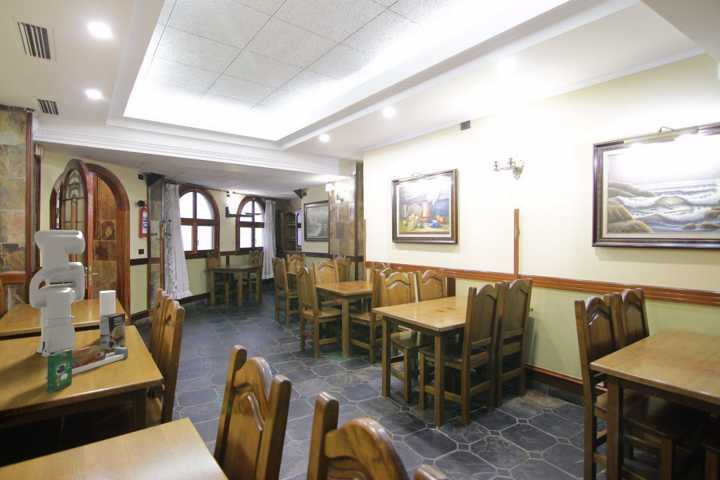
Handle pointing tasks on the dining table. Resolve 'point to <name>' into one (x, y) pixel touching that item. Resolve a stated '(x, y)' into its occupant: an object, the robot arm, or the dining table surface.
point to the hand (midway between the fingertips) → (59, 367)
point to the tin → (87, 356)
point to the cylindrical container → (107, 303)
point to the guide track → (111, 357)
